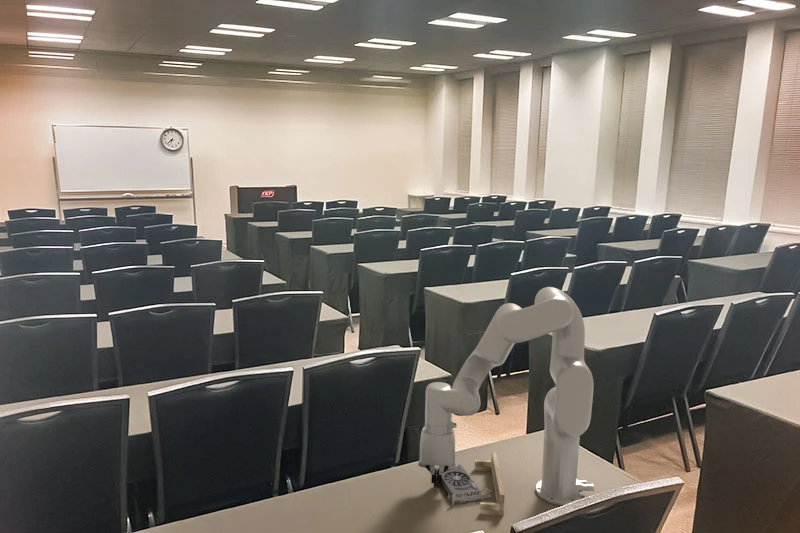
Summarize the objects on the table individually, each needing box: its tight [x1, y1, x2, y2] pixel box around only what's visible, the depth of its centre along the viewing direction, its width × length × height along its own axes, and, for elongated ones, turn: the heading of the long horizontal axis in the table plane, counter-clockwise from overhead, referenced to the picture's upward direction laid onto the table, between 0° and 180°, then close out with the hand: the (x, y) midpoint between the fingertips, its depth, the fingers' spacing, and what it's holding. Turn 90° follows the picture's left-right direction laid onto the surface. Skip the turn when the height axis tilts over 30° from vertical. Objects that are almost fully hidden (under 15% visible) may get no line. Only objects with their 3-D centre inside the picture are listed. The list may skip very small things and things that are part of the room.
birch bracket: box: [474, 451, 505, 516], centre depth 162 cm, size 6×23×6 cm, turn 176°
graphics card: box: [435, 464, 492, 506], centre depth 165 cm, size 17×4×12 cm
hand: (436, 485), depth 164 cm, fingers closed
